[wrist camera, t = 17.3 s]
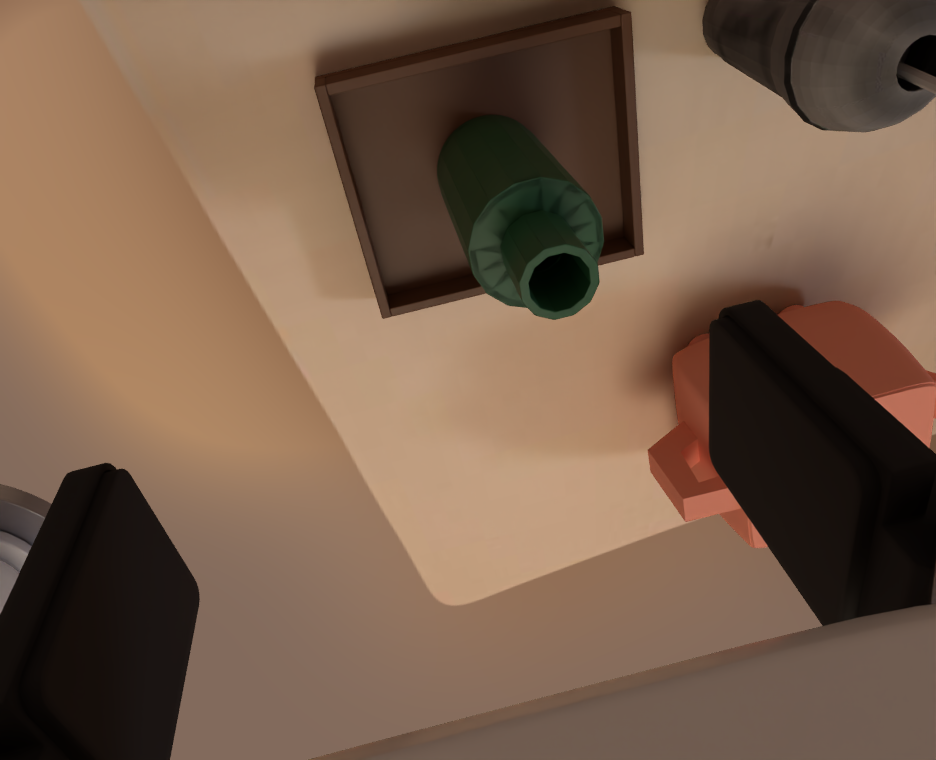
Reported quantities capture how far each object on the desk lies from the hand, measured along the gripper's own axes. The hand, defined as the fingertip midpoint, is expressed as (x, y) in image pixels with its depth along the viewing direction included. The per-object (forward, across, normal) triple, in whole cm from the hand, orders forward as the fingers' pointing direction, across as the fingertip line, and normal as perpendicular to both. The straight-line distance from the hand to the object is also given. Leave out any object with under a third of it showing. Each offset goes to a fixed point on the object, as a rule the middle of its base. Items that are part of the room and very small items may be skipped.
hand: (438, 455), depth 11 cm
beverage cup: (+34, -22, +2) cm, 41 cm away
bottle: (+34, -6, +7) cm, 35 cm away
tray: (+34, -6, +7) cm, 36 cm away
